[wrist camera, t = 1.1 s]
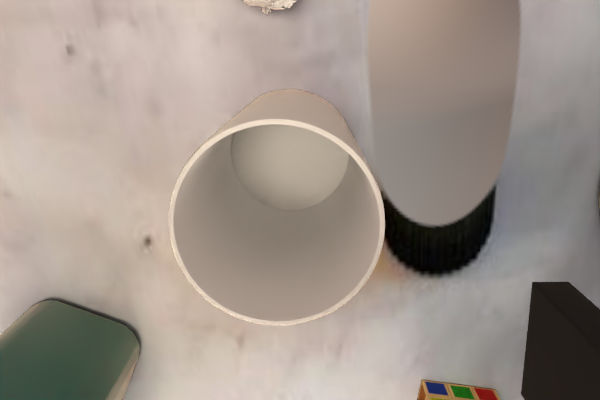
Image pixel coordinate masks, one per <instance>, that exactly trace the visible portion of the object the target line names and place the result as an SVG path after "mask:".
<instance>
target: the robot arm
mask: <svg viewBox="0 0 600 400" xmlns="http://www.w3.org/2000/svg"><path fill="white" fill-rule="evenodd" d="M598 207H599V216H600V184H599V194H598ZM521 394H522V396H523V398H524V399H525V400H600V309H599V308H598V307H596V306H595V305H594V304H593V303H592V302H591V301H590V300H588V299H587V298H586V297H585V296H584V295H583V294H582V293H581V292H579V291H578V290H577V289H576V288H575V287H574V286H573V285H571V284H570V283H569V282H532V292H531V302H530V312H529V322H528V331H527V341H526V351H525V361H524V371H523V381H522V391H521Z"/></svg>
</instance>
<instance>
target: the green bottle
mask: <svg viewBox="0 0 600 400" xmlns="http://www.w3.org/2000/svg"><path fill="white" fill-rule="evenodd" d="M139 354H140V350H139V342H138V340H137V338H136V336H135V334H134V333H133V331H132V330H130V329H129V328H128V327H127V326H126V325H124V324H122V323H119V322H116V321H113V320H110V319H108V318H105V317H102V316H99V315H97V314H94V313H91V312H88V311H85V310H83V309H80V308H77V307H74V306H71V305H69V304H66V303H63V302H60V301H58V300H46V301H42V302H40V303H37V304H35V305H33V306H32V307H31V308H29V309H28V310H27V311H26V312H25V313H24V314H23V315H22V316H21V317H20V318H19V319H17V320H16V321H15V322H14V323H13V324H12V325H11V326H10V327H9V328H8V329H6V330H5V331H4V332H3V333H2V334H1V335H0V400H123V399H124V396H125V393H126V390H127V388H128V385H129V382H130V379H131V376H132V374H133V371H134V368H135V365H136V363H137V360H138V357H139Z"/></svg>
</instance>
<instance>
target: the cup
mask: <svg viewBox="0 0 600 400" xmlns="http://www.w3.org/2000/svg"><path fill="white" fill-rule="evenodd" d="M168 224H169V235H170V241H171V245H172V249H173V252H174V255H175V258H176V260H177V262H178V264H179V266H180V268H181V270H182V272H183V273H184V275H185V277H186V278H187V279H188V281H189V282H190V284H191V285H192V286H193V287H194V288H195V289H196V290H197V292H198V293H200V294H201V295H202V296H203V297H204V298H205V299H206V300H207V301H209V302H210V303H211V304H212V305H214V306H215V307H217V308H219V309H220V310H222V311H224V312H226V313H228V314H229V315H232V316H234V317H236V318H239V319H242V320H245V321H248V322H252V323H257V324H263V325H276V326H281V325H293V324H300V323H304V322H308V321H312V320H315V319H318V318H320V317H322V316H325V315H327V314H329V313H331V312H333V311H334V310H336V309H338V308H339V307H341V306H342V305H344V304H345V303H346V302H347V301H349V300H350V299H351V298H352V297H353V296H354V295H355V294H356V293H357V292H358V291H359V290H360V289H361V288H362V286H363V285H364V284H365V283H366V281H367V280H368V278H369V277H370V275H371V274H372V272H373V270H374V268H375V266H376V264H377V261H378V259H379V256H380V253H381V249H382V246H383V240H384V232H385V214H384V206H383V200H382V196H381V192H380V189H379V187H378V184H377V181H376V179H375V177H374V175H373V173H372V171H371V169H370V167H369V165H368V163H367V162H366V160H365V158H364V156H363V154H362V152H361V150H360V148H359V147H358V145H357V143H356V141H355V139H354V137H353V135H352V134H351V132H350V130H349V128H348V126H347V124H346V122H345V121H344V119H343V117H342V116H341V115H340V113H339V112H338V111H337V110H336V109H335V108H334V107H333V106H332V105H331V104H330V103H329V102H327V101H326V100H325V99H323V98H321V97H320V96H317V95H315V94H313V93H310V92H307V91H303V90H297V89H283V90H277V91H273V92H269V93H267V94H264V95H262V96H260V97H258V98H257V99H255V100H254V101H252V102H251V103H250V104H249V105H247V106H246V107H245V108H244V109H243V110H242V111H240V112H239V113H238V114H237V115H236V116H235V117H233V118H232V119H231V120H230V121H229V122H228V123H226V124H225V125H224V126H223V127H222V128H221V129H219V130H218V131H217V132H216V133H215V134H214V135H212V136H211V137H210V138H209V139H208V140H207V141H206V142H204V143H203V144H202V145H201V146H200V147H199V148H198V149H197V150H196V151H195V152H194V154H193V155H192V156H191V157H190V158H189V160H188V161H187V163H186V164H185V166H184V167H183V169H182V171H181V173H180V175H179V177H178V179H177V182H176V184H175V187H174V189H173V193H172V196H171V200H170V206H169V216H168Z"/></svg>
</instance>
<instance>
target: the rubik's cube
mask: <svg viewBox="0 0 600 400" xmlns="http://www.w3.org/2000/svg"><path fill="white" fill-rule="evenodd" d="M417 400H500V398H499V396H498V394H497V392H496V391H495V389H487V388H480V387H472V386H471V387H470V386H464V385H457V384H449V383H442V382H434V381H426V380H422V382H421V386H420V390H419V395H418V399H417Z"/></svg>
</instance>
